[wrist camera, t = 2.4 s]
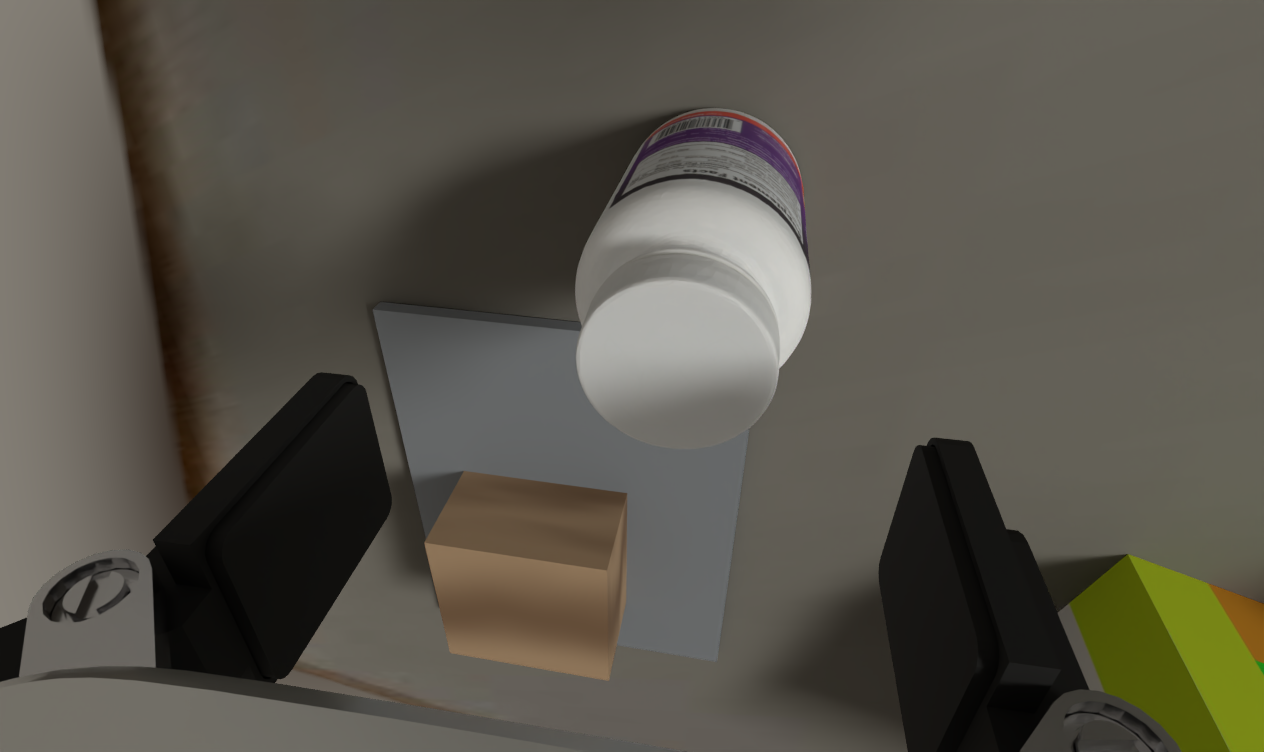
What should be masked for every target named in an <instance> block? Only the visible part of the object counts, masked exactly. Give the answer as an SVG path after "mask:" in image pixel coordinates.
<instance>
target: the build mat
mask: <svg viewBox="0 0 1264 752" xmlns="http://www.w3.org/2000/svg"><path fill="white" fill-rule="evenodd" d="M373 314H374V318H375V322H376V327H377V331H378V335H379V340H380V344H381V348H382V352H383V357H384V361H385V365H386V370H387V374H388V378H389V382H390V387H391V391H392V395H393V400H394V404H395V408H396V413H397V417H398V421H399V425H400V430H401V434H402V438H403V443H404V447H405V451H406V455H407V460H408V464H409V468H410V473H411V477H412V481H413V486H414V490H415V494H416V498H417V503H418V507H419V511H420V516H421V520H422V524H423V528H424V533H425V537H426V539H427V537H428V535H429V533H430V531H431V530H432V528H433V526H434V524H435V522H436V521H437V519H438V517H439V515H440V513H441V512H442V510H443V508H444V506H445V504H446V503H447V501H448V499H449V497H450V495H451V494H452V492H453V490H454V488H455V486H456V485H457V483H458V481H459V479H460V477H461V475H462V474H463V472H464V471H468V472H476V473H483V474H490V475H498V476H505V477H512V478H520V479H527V480H534V481H542V482H549V483H556V484H564V485H571V486H578V487H586V488H593V489H600V490H608V491H615V492H622V493H627V576H626V605H625V610H624V614H623V619H622V623H621V628H620V632H619V637H618V641H617V645H619V646H625V647H631V648H637V649H643V650H649V651H655V652H661V653H667V654H673V655H679V656H685V657H691V658H697V659H703V660H709V661H715V662H717V658H718V651H719V644H720V636H721V629H722V622H723V615H724V608H725V601H726V593H727V586H728V579H729V572H730V565H731V557H732V550H733V543H734V536H735V529H736V522H737V514H738V507H739V500H740V493H741V486H742V479H743V471H744V464H745V457H746V450H747V443H748V435H749V429H747V430H746V431H744V432H742V433H741V434H739V435H738V436H736V437H735V438H732V439H730V440H728V441H725V442H723V443H720V444H717V445H713V446H710V447H704V448H697V449H673V448H665V447H659V446H655V445H651V444H647V443H645V442H642V441H639V440H637V439H634V438H632V437H630V436H628V435H626V434H625V433H623V432H621V431H620V430H618V429H617V428H616V427H614V426H613V425H611V424H610V423H609V422H607V421H606V420H605V419H604V418H603V417H602V416H601V415H600V414H599V413H598V411H597V410H596V409H595V408H594V407H593V405H592V404H591V403H590V401H589V399H588V398H587V396H586V395H585V392H584V390H583V388H582V386H581V383H580V380H579V377H578V373H577V366H576V348H577V342H578V337H579V334H580V331H581V328H582V325H581V322H572V321H563V320H553V319H543V318H533V317H524V316H514V315H504V314H494V313H485V312H475V311H465V310H455V309H446V308H436V307H426V306H416V305H407V304H397V303H387V302H380V303H379V304H378V305H377V306H376V307H375V308H374V309H373Z"/></svg>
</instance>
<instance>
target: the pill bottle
mask: <svg viewBox="0 0 1264 752" xmlns="http://www.w3.org/2000/svg"><path fill="white" fill-rule="evenodd" d="M575 298H576V306H577V311H578V315H579V319H580V322H581V325H582V328H581V331H580V334H579V337H578V342H577V348H576V366H577V373H578V377H579V380H580V383H581V386H582V388H583V390H584V392H585V395H586V396H587V398H588V399H589V401H590V403H591V404H592V405H593V407H594V408H595V409H596V410H597V411H598V413H599V414H600V415H601V416H602V417H603V418H604V419H605V420H606V421H607V422H609V423H610V424H611V425H613V426H614V427H616V428H617V429H618V430H620V431H621V432H623V433H625V434H626V435H628V436H630V437H632V438H634V439H637V440H639V441H642V442H645V443H647V444H651V445H655V446H659V447H665V448H673V449H697V448H704V447H710V446H713V445H717V444H720V443H723V442H725V441H728V440H730V439H732V438H735V437H736V436H738V435H739V434H741V433H742V432H744V431H746V430H747V429H749V428H750V427H751V426H752V425H753V424H754V423H755V422H756V421H757V420H758V419H759V418H760V417H761V416H762V415H763V413H764V412H765V411H766V409H767V408H768V406H769V404H770V402H771V400H772V398H773V396H774V393H775V390H776V387H777V382H778V376H779V368H780V367H781V366H782V365H783V364H784V363H785V362H786V361H787V359H788V358H789V357H790V355H791V354H792V352H793V351H794V350H795V348H796V346H797V345H798V343H799V341H800V340H801V338H802V335H803V333H804V330H805V328H806V325H807V321H808V317H809V313H810V305H811V277H810V266H809V257H808V245H807V234H806V222H805V205H804V191H803V184H802V179H801V174H800V170H799V167H798V165H797V162H796V160H795V157H794V156H793V154H792V152H791V150H790V149H789V147H788V145H787V144H786V143H785V142H784V140H783V139H782V138H781V137H780V136H779V135H778V134H777V133H776V132H775V131H774V130H773V129H772V128H771V127H769V126H768V125H767V124H765V123H764V122H762V121H761V120H759V119H757V118H755V117H753V116H751V115H748V114H745V113H743V112H740V111H735V110H730V109H724V108H706V109H698V110H693V111H690V112H687V113H683V114H681V115H678V116H677V117H675V118H673V119H671V120H669V121H667V122H666V123H664V124H663V125H661V126H660V127H659V128H657V129H656V130H655V131H654V132H653V133H652V134H651V135H650V136H649V137H648V138H647V139H646V140H645V141H644V143H643V144H642V145H641V147H640V148H639V149H638V151H637V152H636V154H635V156H634V157H633V159H632V161H631V162H630V164H629V166H628V168H627V170H626V172H625V173H624V175H623V177H622V179H621V181H620V183H619V184H618V186H617V188H616V190H615V192H614V193H613V195H612V197H611V199H610V201H609V202H608V204H607V206H606V208H605V210H604V211H603V213H602V215H601V217H600V218H599V220H598V222H597V224H596V226H595V227H594V229H593V231H592V233H591V235H590V237H589V239H588V241H587V243H586V245H585V247H584V250H583V253H582V255H581V258H580V261H579V265H578V268H577V274H576V283H575Z"/></svg>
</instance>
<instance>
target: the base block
mask: <svg viewBox="0 0 1264 752" xmlns="http://www.w3.org/2000/svg"><path fill="white" fill-rule="evenodd" d="M424 544H425V548H426V552H427V556H428V561H429V565H430V569H431V573H432V578H433V582H434V586H435V590H436V595H437V599H438V603H439V607H440V612H441V616H442V620H443V624H444V628H445V633H446V637H447V641H448V645H449V650H450V653H454V654H459V655H465V656H471V657H476V658H482V659H488V660H494V661H499V662H505V663H511V664H516V665H522V666H528V667H534V668H539V669H545V670H551V671H556V672H562V673H568V674H573V675H579V676H585V677H591V678H596V679H602V680H608V681H609V677H610V672H611V668H612V663H613V659H614V654H615V650H616V646H617V641H618V637H619V632H620V628H621V623H622V619H623V614H624V610H625V605H626V576H627V493H622V492H615V491H608V490H600V489H593V488H586V487H578V486H571V485H564V484H556V483H549V482H542V481H534V480H527V479H520V478H512V477H505V476H498V475H490V474H483V473H476V472H468V471H464V472H463V474H462V475H461V477H460V479H459V481H458V483H457V485H456V486H455V488H454V490H453V492H452V494H451V495H450V497H449V499H448V501H447V503H446V504H445V506H444V508H443V510H442V512H441V513H440V515H439V517H438V519H437V521H436V522H435V524H434V526H433V528H432V530H431V531H430V533H429V535H428V537H427V539H426V541H425V542H424Z"/></svg>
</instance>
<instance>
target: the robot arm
mask: <svg viewBox="0 0 1264 752" xmlns="http://www.w3.org/2000/svg"><path fill="white" fill-rule="evenodd" d="M391 504H392V497H391V492H390V488H389V484H388V480H387V476H386V472H385V467H384V463H383V459H382V455H381V451H380V447H379V443H378V438H377V434H376V430H375V426H374V422H373V418H372V414H371V410H370V405H369V401H368V397H367V393H366V390H365V388H364V387H363V386H362V385H358V383H357V381H356V379H355V378H354V377H352V376H350V375H341V374H331V373H317V374H316V375H314V376H313V377H312V378H311V379H310V380H309V381H308V382H307V383H306V384H305V385H304V386H303V387H302V388H301V389H300V390H299V391H298V392H297V393H296V394H295V395H294V396H293V397H292V398H291V399H290V400H289V401H288V402H287V403H286V404H285V405H284V406H283V407H282V408H281V409H280V411H279V412H278V413H277V414H276V415H275V416H274V417H273V418H272V419H271V420H270V421H269V422H268V423H267V424H266V425H265V426H264V427H263V428H262V429H261V430H260V431H259V432H258V433H257V434H256V435H255V436H254V437H253V438H252V439H251V440H250V441H249V442H248V443H247V444H246V445H245V446H244V447H243V448H242V449H241V450H240V451H239V452H238V453H237V454H236V455H235V456H234V457H233V458H232V459H231V461H230V462H229V463H228V464H227V465H226V466H225V467H224V468H223V469H222V470H221V471H220V472H219V473H218V474H217V475H216V476H215V477H214V478H213V479H212V480H211V481H210V482H209V483H208V484H207V485H206V486H205V487H204V488H203V489H202V490H201V491H200V492H199V493H198V494H197V495H196V496H195V497H194V498H193V499H192V500H191V501H190V502H189V503H188V504H187V505H186V506H185V507H184V509H182V511H181V512H180V513H179V514H178V515H177V516H176V517H175V518H174V519H173V520H172V521H171V522H170V523H169V524H168V525H167V526H166V527H165V528H164V529H163V530H162V531H161V532H160V533H159V534H158V535H157V536H156V537H155V538H154V539H153V541H154V543H155V545H156V547H155V548H154V549H153V550H152V551H151V552H150V553H149V554H148V555H147V556H144V555H143V554H142V553H140V552H136V551H132V550H110V551H106V552H102V553H98V554H94V555H91V556H89V557H86V558H84V559H81V560H79V561H77V562H75V563H73V564H71V565H70V566H68V567H66V568H65V569H63V570H61V571H59V572H58V573H57V574H55V576H53V577H52V578H51V579H50V580H49V581H47V582H46V583H45V584H44V585H43V586H42V587H41V589H40V590H39V591H38V592H37V593H36V595H35V596H34V597H33V599H32V602H31V605H30V607H29V610H28V616H27V618H25V619H22V620H20V621H17V622H15V623H12V624H9V625H7V626H4V627H2V628H0V752H686V751H681V750H675V749H669V748H663V747H657V746H652V745H646V744H640V743H634V742H628V741H623V740H617V739H611V738H605V737H599V736H593V735H587V734H581V733H575V732H569V731H564V730H558V729H552V728H546V727H540V726H534V725H528V724H522V723H516V722H510V721H504V720H498V719H492V718H486V717H480V716H474V715H468V714H462V713H456V712H450V711H444V710H438V709H432V708H426V707H420V706H413V705H407V704H401V703H395V702H389V701H382V700H376V699H370V698H363V697H358V696H351V695H345V694H339V693H333V692H326V691H320V690H314V689H307V688H301V687H296V686H289V685H283V684H277V683H275V682H276V681H277V679H282V678H285V677H286V676H287V675H288V674H289V673H290V671H291V670H292V669H293V667H294V665H295V664H296V662H297V661H298V659H299V658H300V656H301V654H302V653H303V651H304V650H305V648H306V646H307V645H308V643H309V642H310V640H311V638H312V637H313V635H314V634H315V632H316V630H317V629H318V627H319V626H320V624H321V622H322V621H323V619H324V618H325V616H326V614H327V613H328V611H329V610H330V608H331V607H332V605H333V603H334V602H335V600H336V599H337V597H338V595H339V594H340V592H341V591H342V589H343V587H344V586H345V584H346V583H347V581H348V579H349V578H350V576H351V575H352V573H353V571H354V570H355V568H356V567H357V565H358V563H359V562H360V560H361V559H362V557H363V555H364V554H365V552H366V551H367V549H368V548H369V546H370V544H371V543H372V541H373V540H374V538H375V536H376V535H377V533H378V532H379V530H380V528H381V527H382V525H383V524H384V522H385V520H386V519H387V517H388V515H389V513H390V509H391ZM879 584H880V590H881V596H882V602H883V608H884V614H885V620H886V625H887V631H888V637H889V643H890V649H891V655H892V661H893V666H894V672H895V678H896V684H897V690H898V696H899V702H900V707H901V713H902V719H903V725H904V731H905V737H906V743H907V748H908V752H1181V750H1180V748H1179V746H1178V745H1177V743H1176V742H1175V741H1174V740H1173V738H1172V737H1171V736H1170V735H1169V734H1168V733H1167V732H1166V731H1165V729H1164V728H1163V727H1162V726H1161V725H1160V724H1159V723H1158V722H1156V721H1155V720H1154V719H1152V718H1151V717H1150V716H1149V715H1147V714H1146V713H1145V712H1144V711H1142V710H1141V709H1140V708H1138V707H1136V706H1134V705H1132V704H1130V703H1128V702H1127V701H1125V700H1123V699H1121V698H1119V697H1116V696H1113V695H1110V694H1107V693H1104V692H1101V691H1094V690H1089V687H1088V685H1087V682H1086V680H1085V678H1084V675H1083V673H1082V671H1081V668H1080V666H1079V663H1078V661H1077V659H1076V656H1075V654H1074V651H1073V649H1072V647H1071V644H1070V642H1069V639H1068V637H1067V635H1066V632H1065V630H1064V628H1063V625H1062V623H1061V620H1060V618H1059V616H1058V613H1057V611H1056V608H1055V606H1054V604H1053V601H1052V599H1051V596H1050V594H1049V592H1048V589H1047V587H1046V585H1045V582H1044V580H1043V577H1042V575H1041V573H1040V570H1039V568H1038V565H1037V563H1036V561H1035V558H1034V556H1033V553H1032V551H1031V549H1030V546H1029V544H1028V542H1027V540H1026V539H1025V537H1024V535H1023V534H1021V533H1020V532H1019V531H1016V530H1007V529H1006V528H1005V525H1004V522H1003V520H1002V517H1001V515H1000V512H999V510H998V507H997V505H996V502H995V499H994V497H993V494H992V492H991V489H990V487H989V484H988V482H987V479H986V477H985V474H984V471H983V469H982V466H981V464H980V461H979V459H978V456H977V454H976V451H975V448H974V446H973V445H972V443H971V442H969V441H961V440H951V439H942V438H931V439H930V440H929V442H928V444H927V446H922V445H918V446H917V447H916V448H915V450H914V453H913V456H912V459H911V462H910V465H909V469H908V472H907V475H906V478H905V481H904V485H903V488H902V491H901V494H900V498H899V501H898V504H897V507H896V510H895V514H894V517H893V520H892V523H891V526H890V530H889V533H888V536H887V539H886V542H885V546H884V549H883V552H882V555H881V559H880V563H879Z"/></svg>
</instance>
